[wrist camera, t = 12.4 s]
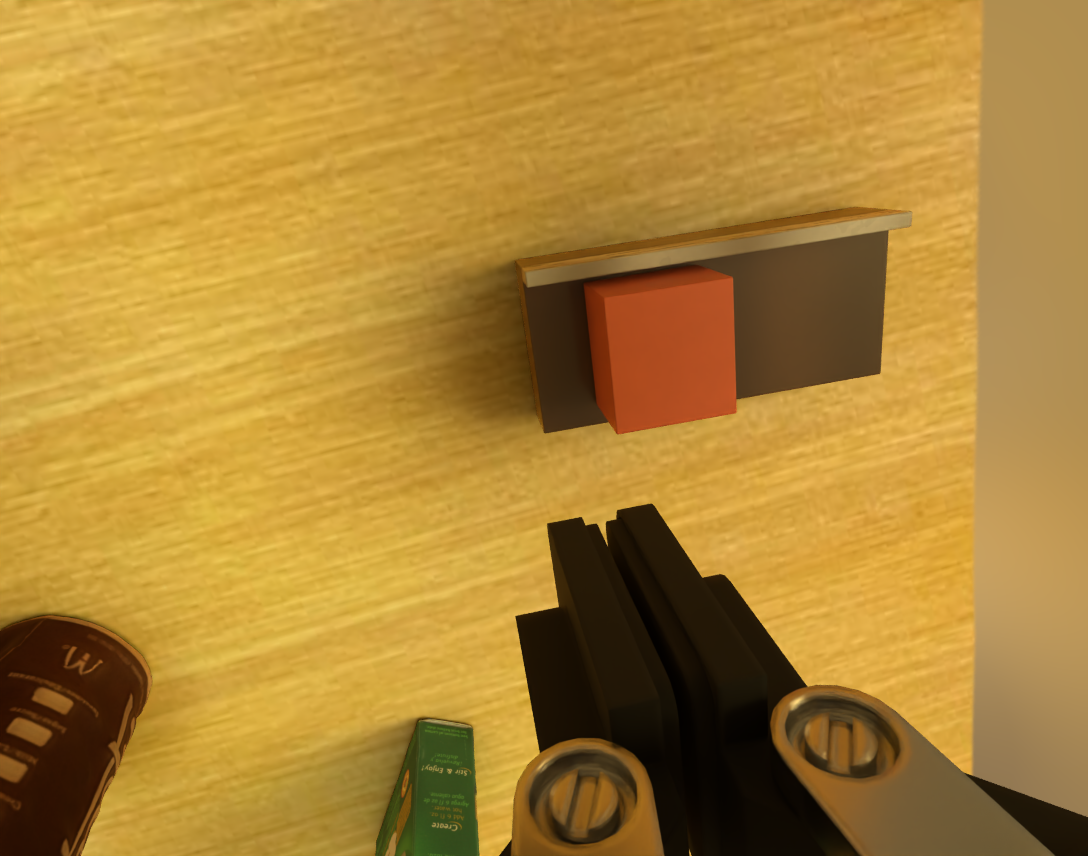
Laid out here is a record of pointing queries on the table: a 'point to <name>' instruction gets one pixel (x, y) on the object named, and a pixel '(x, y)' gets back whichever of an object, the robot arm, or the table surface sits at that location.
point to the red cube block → (662, 347)
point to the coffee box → (434, 795)
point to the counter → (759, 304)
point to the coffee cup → (62, 729)
